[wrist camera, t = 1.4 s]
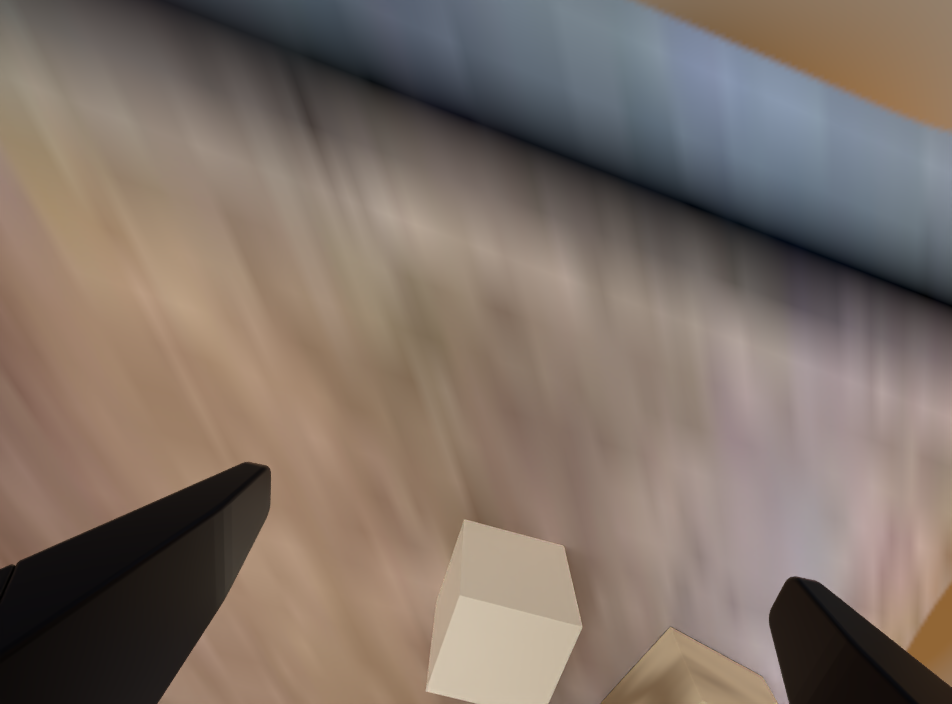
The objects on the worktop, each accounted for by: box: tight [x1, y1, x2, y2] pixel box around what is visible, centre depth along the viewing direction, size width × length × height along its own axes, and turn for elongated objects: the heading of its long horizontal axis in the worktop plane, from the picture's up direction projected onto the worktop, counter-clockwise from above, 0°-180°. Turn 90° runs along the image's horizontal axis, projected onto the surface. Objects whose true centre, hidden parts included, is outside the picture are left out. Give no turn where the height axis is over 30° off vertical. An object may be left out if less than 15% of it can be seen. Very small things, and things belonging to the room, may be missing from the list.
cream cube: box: [426, 519, 583, 704], centre depth 23 cm, size 5×5×5 cm
